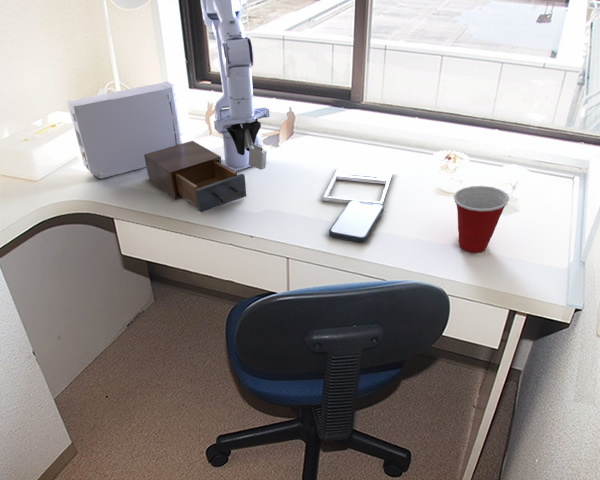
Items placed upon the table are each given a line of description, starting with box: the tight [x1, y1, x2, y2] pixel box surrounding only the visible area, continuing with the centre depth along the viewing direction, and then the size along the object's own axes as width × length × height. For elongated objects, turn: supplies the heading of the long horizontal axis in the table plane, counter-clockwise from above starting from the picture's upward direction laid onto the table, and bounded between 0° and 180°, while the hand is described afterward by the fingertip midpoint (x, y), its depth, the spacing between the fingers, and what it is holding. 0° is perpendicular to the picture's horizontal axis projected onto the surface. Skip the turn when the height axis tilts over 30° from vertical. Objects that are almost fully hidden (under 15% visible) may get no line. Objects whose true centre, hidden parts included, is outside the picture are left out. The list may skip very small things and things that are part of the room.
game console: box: [66, 81, 183, 179], centre depth 150 cm, size 6×27×20 cm, turn 124°
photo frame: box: [322, 167, 393, 206], centre depth 142 cm, size 15×1×18 cm
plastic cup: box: [453, 185, 510, 254], centre depth 116 cm, size 11×11×12 cm
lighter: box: [244, 129, 267, 171], centre depth 133 cm, size 7×2×8 cm, turn 55°
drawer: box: [174, 161, 247, 213], centre depth 136 cm, size 18×13×6 cm
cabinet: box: [144, 140, 222, 200], centre depth 145 cm, size 14×14×7 cm
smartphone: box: [328, 200, 385, 244], centre depth 127 cm, size 9×2×16 cm
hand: (245, 152), depth 136 cm, fingers closed on lighter, 2 cm apart
